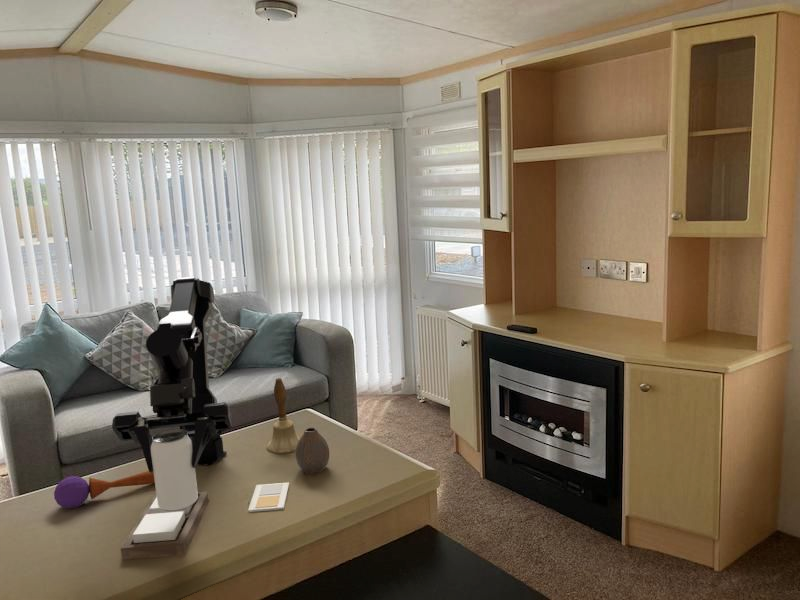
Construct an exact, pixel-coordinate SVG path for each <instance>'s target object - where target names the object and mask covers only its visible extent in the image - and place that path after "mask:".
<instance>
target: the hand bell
mask: <svg viewBox="0 0 800 600" xmlns="http://www.w3.org/2000/svg"><path fill="white" fill-rule="evenodd" d="M273 394H274V395H273V396H274V399H275V402H276V404H277V409H278V411H277V412H278V421H276V422H274V424H273V426H272V428H273V429H272V436H271V439H270V441H269V442H268V443H267V444H266V450H267V451H268V452H270V453H273V454H287V453H292V452H296V446H297V443H298V441H299V440H300V438H301V437H299V436H298V434H297V432H296V429H295V426H294V422H293V421H292V420H289V419H288V418H287V412H286V400H287V392H286V386H285V383H284V382H283V379H282V378H281V377H278V378H275V384H274V387H273Z"/></svg>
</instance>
